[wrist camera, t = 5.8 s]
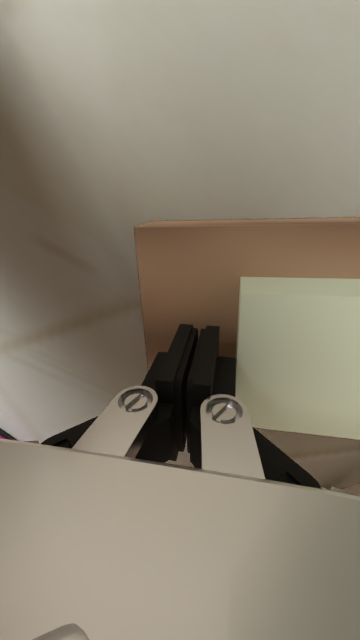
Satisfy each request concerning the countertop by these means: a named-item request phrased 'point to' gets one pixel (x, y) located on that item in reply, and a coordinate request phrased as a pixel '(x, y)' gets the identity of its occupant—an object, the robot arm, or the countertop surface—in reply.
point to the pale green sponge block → (300, 354)
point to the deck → (230, 268)
